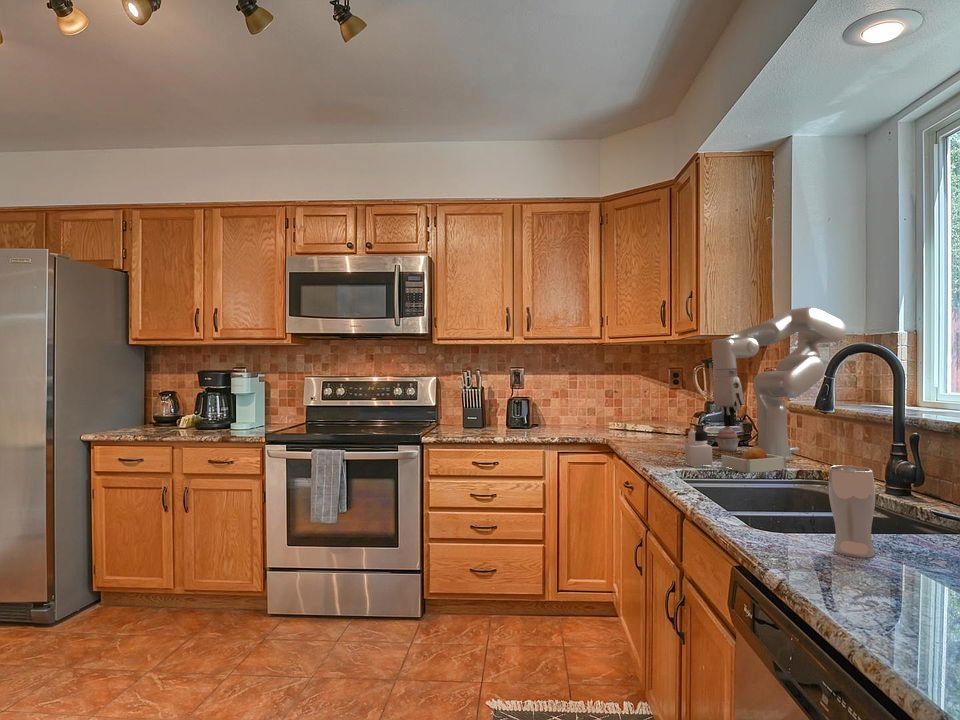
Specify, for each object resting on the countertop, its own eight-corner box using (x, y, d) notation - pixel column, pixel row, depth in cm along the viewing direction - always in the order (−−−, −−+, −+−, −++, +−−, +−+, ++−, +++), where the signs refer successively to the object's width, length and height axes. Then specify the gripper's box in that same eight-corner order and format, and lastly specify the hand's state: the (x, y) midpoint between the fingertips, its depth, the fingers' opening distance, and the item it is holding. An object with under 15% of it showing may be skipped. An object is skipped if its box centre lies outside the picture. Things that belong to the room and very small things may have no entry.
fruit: (774, 467, 177) (759, 445, 178) (751, 479, 179) (736, 457, 181) (774, 463, 184) (759, 442, 186) (751, 475, 187) (737, 454, 189)
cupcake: (712, 451, 224) (711, 426, 224) (719, 448, 231) (718, 424, 232) (736, 452, 218) (735, 427, 218) (743, 449, 225) (742, 425, 226)
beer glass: (857, 561, 96) (853, 473, 96) (821, 549, 102) (818, 466, 103) (887, 556, 98) (884, 470, 98) (851, 544, 104) (847, 464, 105)
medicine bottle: (706, 463, 195) (705, 429, 196) (712, 467, 188) (711, 431, 189) (685, 463, 196) (684, 429, 196) (690, 467, 189) (689, 431, 189)
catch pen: (759, 464, 192) (758, 452, 192) (786, 469, 180) (786, 457, 180) (721, 467, 188) (721, 455, 188) (747, 473, 176) (747, 460, 176)
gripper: (750, 373, 190) (754, 426, 190) (720, 373, 204) (724, 423, 204) (731, 374, 188) (736, 429, 188) (702, 374, 202) (706, 425, 202)
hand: (729, 425), depth 196 cm, fingers closed
